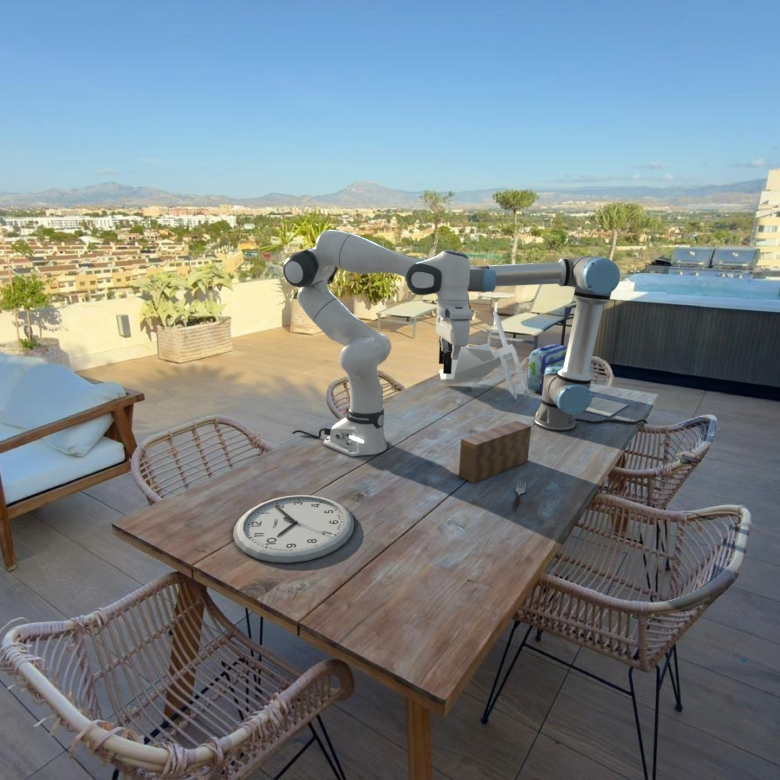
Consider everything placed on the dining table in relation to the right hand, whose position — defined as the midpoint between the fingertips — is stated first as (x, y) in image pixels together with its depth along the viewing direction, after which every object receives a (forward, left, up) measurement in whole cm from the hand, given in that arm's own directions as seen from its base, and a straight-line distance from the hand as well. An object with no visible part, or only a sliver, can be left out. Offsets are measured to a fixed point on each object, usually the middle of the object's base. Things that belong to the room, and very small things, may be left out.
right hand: (444, 368), depth 186 cm
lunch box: (-49, -66, -25) cm, 86 cm away
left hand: (-1, +29, +12) cm, 31 cm away
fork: (-23, +45, -25) cm, 57 cm away
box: (-17, +26, -25) cm, 40 cm away
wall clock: (+35, +68, -25) cm, 81 cm away
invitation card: (-68, -43, -25) cm, 84 cm away
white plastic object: (-16, -55, -25) cm, 62 cm away
